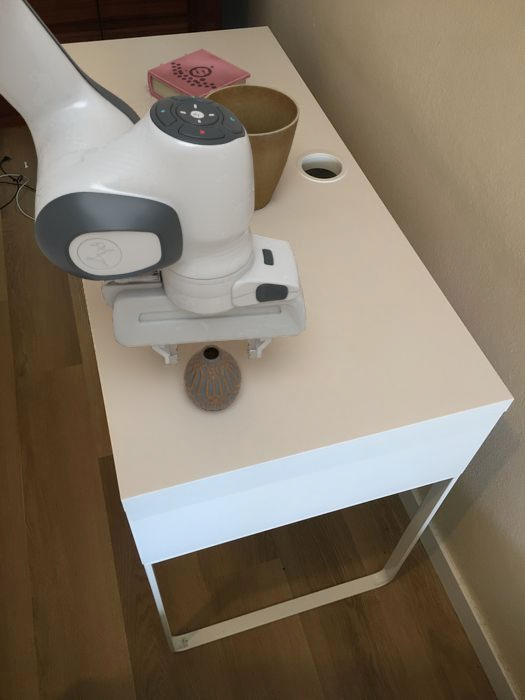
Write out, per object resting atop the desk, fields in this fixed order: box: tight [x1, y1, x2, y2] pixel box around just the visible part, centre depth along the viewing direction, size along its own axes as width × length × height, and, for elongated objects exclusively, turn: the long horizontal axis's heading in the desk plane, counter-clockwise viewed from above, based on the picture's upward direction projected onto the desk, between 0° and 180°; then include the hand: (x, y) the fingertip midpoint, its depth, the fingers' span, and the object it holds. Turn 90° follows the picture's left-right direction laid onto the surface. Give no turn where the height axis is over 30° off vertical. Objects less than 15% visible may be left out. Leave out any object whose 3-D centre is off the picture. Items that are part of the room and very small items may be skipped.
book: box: [146, 48, 252, 101], centre depth 116 cm, size 14×15×5 cm
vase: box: [183, 344, 242, 411], centre depth 69 cm, size 7×7×9 cm
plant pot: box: [205, 83, 301, 211], centre depth 91 cm, size 15×15×16 cm
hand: (213, 356), depth 66 cm, fingers open, 8 cm apart
